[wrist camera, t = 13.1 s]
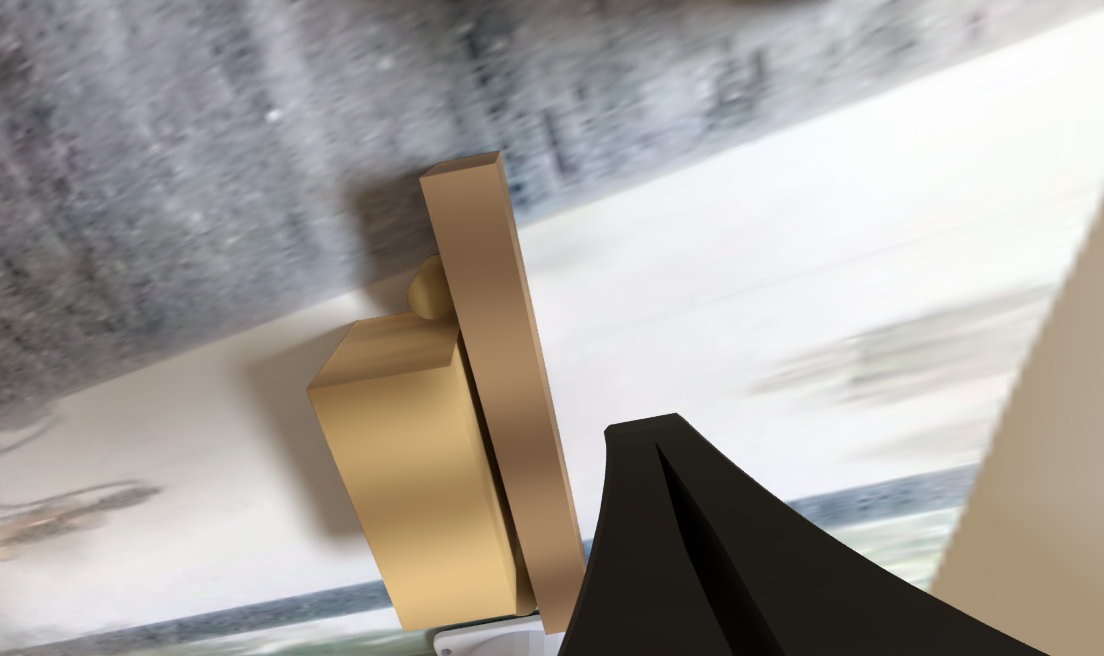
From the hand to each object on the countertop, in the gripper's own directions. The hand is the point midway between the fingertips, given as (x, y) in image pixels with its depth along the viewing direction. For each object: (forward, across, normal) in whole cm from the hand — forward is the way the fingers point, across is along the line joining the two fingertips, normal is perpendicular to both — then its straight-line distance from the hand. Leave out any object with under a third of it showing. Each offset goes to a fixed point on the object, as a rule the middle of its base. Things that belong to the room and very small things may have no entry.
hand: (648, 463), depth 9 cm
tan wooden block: (+10, +6, +5) cm, 13 cm away
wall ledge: (+10, +3, +4) cm, 11 cm away
